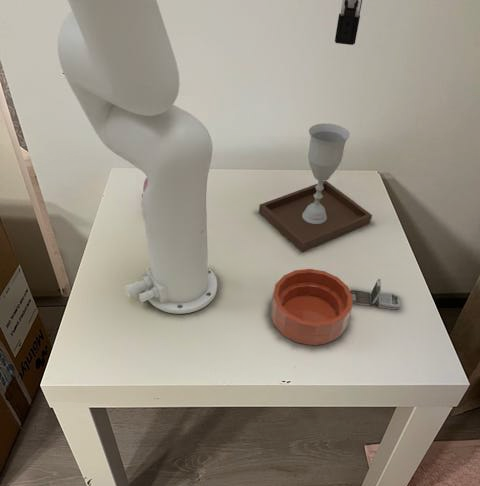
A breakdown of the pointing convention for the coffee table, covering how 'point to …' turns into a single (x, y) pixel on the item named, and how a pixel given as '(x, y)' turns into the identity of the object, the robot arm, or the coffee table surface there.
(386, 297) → the strap clip
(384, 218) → the coffee table surface
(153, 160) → the robot arm
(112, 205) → the coffee table surface
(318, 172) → the chalice
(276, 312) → the bowl
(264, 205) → the tray
